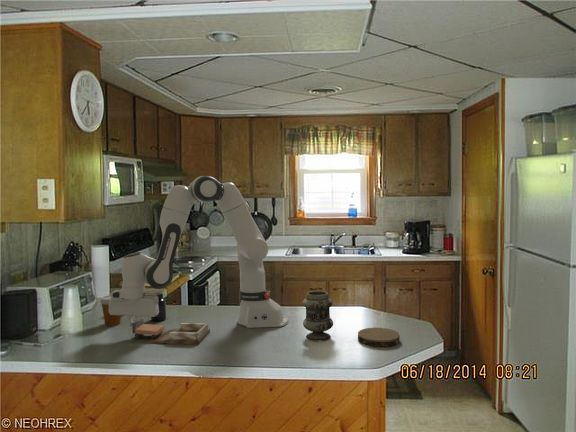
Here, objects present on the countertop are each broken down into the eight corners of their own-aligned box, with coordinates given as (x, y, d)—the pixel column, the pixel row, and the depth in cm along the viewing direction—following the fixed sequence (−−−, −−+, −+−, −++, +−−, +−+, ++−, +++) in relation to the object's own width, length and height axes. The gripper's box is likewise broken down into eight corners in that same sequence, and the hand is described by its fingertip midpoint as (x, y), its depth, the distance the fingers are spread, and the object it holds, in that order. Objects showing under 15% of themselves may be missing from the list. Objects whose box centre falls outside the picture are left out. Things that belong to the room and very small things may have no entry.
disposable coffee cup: (128, 321, 219) (127, 295, 219) (114, 327, 210) (113, 300, 210) (111, 320, 223) (110, 294, 222) (96, 326, 214) (95, 299, 213)
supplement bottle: (168, 317, 225) (167, 292, 224) (163, 321, 218) (162, 295, 217) (154, 317, 226) (153, 291, 225) (148, 321, 219) (147, 295, 218)
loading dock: (210, 334, 202) (209, 322, 202) (199, 347, 187) (198, 334, 187) (161, 333, 205) (160, 321, 204) (146, 345, 190) (145, 332, 190)
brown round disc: (350, 343, 187) (350, 335, 187) (368, 332, 200) (368, 325, 200) (389, 351, 178) (389, 343, 178) (405, 339, 191) (405, 331, 191)
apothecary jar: (317, 330, 202) (316, 287, 201) (339, 337, 194) (339, 292, 192) (296, 337, 194) (296, 293, 193) (319, 344, 185) (318, 297, 184)
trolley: (164, 333, 201) (164, 320, 200) (156, 340, 193) (156, 326, 192) (140, 331, 202) (141, 318, 202) (132, 338, 194) (132, 324, 194)
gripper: (161, 291, 199) (161, 325, 200) (114, 290, 202) (114, 322, 202) (155, 295, 193) (155, 329, 194) (106, 293, 195) (106, 327, 196)
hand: (134, 326), depth 198 cm, fingers closed
